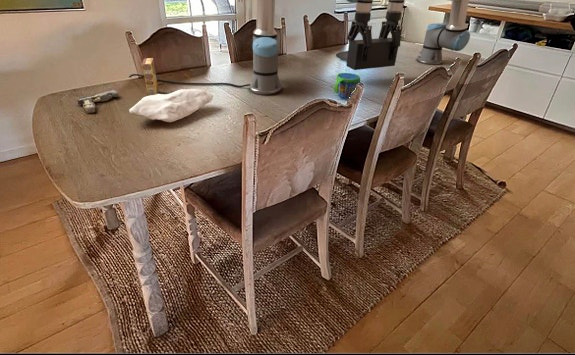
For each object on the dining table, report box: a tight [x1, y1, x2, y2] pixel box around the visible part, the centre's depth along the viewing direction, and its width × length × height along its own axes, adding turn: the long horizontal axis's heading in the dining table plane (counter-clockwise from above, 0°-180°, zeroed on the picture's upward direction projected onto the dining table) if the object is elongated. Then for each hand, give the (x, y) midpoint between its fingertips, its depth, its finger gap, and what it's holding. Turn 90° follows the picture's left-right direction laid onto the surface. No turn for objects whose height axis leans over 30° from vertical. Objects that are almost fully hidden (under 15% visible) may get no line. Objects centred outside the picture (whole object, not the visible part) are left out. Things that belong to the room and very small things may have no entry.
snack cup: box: [333, 72, 361, 100], centre depth 170 cm, size 16×10×10 cm
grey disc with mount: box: [335, 50, 348, 62], centre depth 234 cm, size 35×35×9 cm
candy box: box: [141, 57, 160, 96], centre depth 163 cm, size 9×4×15 cm, turn 13°
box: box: [345, 37, 399, 71], centre depth 189 cm, size 26×8×13 cm, turn 115°
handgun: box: [76, 89, 120, 114], centre depth 155 cm, size 3×18×15 cm
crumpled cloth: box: [129, 88, 214, 123], centre depth 147 cm, size 24×35×9 cm
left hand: (356, 58), depth 187 cm, fingers open, 12 cm apart
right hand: (386, 57), depth 194 cm, fingers closed on box, 8 cm apart
